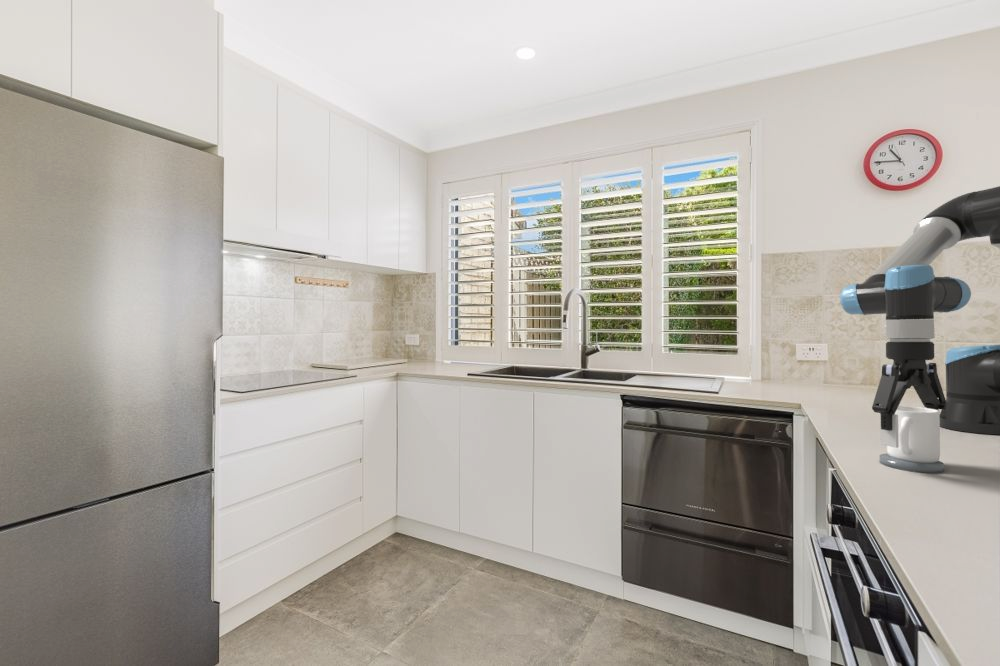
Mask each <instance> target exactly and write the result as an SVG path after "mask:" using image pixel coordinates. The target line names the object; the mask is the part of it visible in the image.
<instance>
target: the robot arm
mask: <svg viewBox="0 0 1000 666" xmlns="http://www.w3.org/2000/svg"><path fill="white" fill-rule="evenodd" d="M984 237H989V241H990V245H991V246H994V247H996V248H998V249H999V250H1000V185H999V186H995V187H990V188H986V189H982V190H978V191H973V192H972V191H971V192H968V193H964V194H961V195H959V196H956V197H954V198H952V199H950V200H948V201H946V202H945V203H943V204H942V205H940V206H938V207H937V208H935V209H933V210H932V211H931V212H929V213H928V214H926V216H925V217H923V218H922V219H921V220H920V221H919V222H918V223H917V224H916V225H915V226H914V228H913V234H912V235H910V236H909V238H908V239H907V240H905V242H904V243H902V245H900V247H898V248H897V250H895V251H894V252H893V253H892V254H891V255H890V256H889V257H888V258H887V259H886V260H885V261H883V263H882V264H881V265H880V266H879V267H878V268H877V269H876V270H875V271H874V272H873V273H872V274H871V275H870V276H869V277H868V278H867V279H866V280H864V282H863V283H855V284H849V285H847V286H845V287H844V288H843V289H842V291H841V293H840V299H839V301H840V304H841V306H842V309H843V311H844V312H845V313H847V314H849V315H863V316H867V315H882V314H883V315H884V314H885V325H884V329H885V338H887V339H888V340H889V341H886V343H885V358H887V359H889V360H893V361H892V362H893V364H882V367H881V376H880V379H879V383H878V386H877V390H876V394H875V396H874V399H873V402H872V406H871V408H872V411H873V413H877V414H880V445H881V446H886V447H887V446H890V447H895V448H897V447H899V443H898V415H896V414H895V412H896V410H897V408H898V406H900V403H901V402H902V400H903V398H904V396H905V394H906V392H907V390H908V389H911V387H913V389H914V391H915V392H916V394H917V396H918V398H919V399H920V401H921V404H923V408H929V409H934V410H938V411H939V412H940V427H941V428H944V429H948V430H954V431H958V432H959V431H960V432H966V433H974V434H984V435H985V434H986V435H1000V344H989V345H974V346H961V347H953V348H949V350H947V351H946V354H945V355H946V356H945V363H944V365H945V389H946V390H945V391H946V392H945V394H946V397H945V394H944V390H943V388H942V384H941V381H940V378H939V374H938V370H937V369H938V367H937V363H936V362H926V361H931V360H934V359H935V343H934V342H933V341H931V340H932V339H935V315H934V314H935V313H950V312H957V311H958V310H961V309H962V308H964V307H965V306H966V305H967V304H968V303H969V302H970V300H971V297H972V296H971V295H972V291H971V288H970V286H969V285H968V284H967V282H965V281H964V280H962V279H959V278H955V277H951V276H935V273H934V272H935V271H934V268H933V267H932V266H931V264H932V263H933V262H934V261H935V260H936V259H937V258H938V256H940V254H941V253H942V252H944V251H945V250H947V249H950V248H952V247H954V246H955V245H957V243H958V242H961V241H966V240H969V239H975V238H984Z"/></svg>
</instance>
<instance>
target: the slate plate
mask: <svg viewBox="0 0 1000 666" xmlns="http://www.w3.org/2000/svg"><path fill="white" fill-rule="evenodd" d="M879 464H881V465H883V466H886V467H889V468H893V469H897V470H901V471H906V470H907V471H908V472H913V471H916V472H915V473H922V472H928V473H927V474H936V473H938V472H939V473H943V472H944V471H945V464H944V462H943V461H940V460H939V461H937V462H935V463H917V462H910V461H904V460H899V459H896V458H893V457H891V456H890V455H889V454H888V452H886V453H881V454H879ZM907 471H906V472H907ZM932 472H933V473H932Z"/></svg>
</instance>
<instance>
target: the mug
mask: <svg viewBox="0 0 1000 666" xmlns="http://www.w3.org/2000/svg"><path fill="white" fill-rule="evenodd" d="M938 410H939V409H938ZM938 410H934V409H929V408H926V407H920V406H908V405H899V406H898V408H897V410H896V412H895V414H896V415H898V443H899V447H897V448H895V447H890V446H886V451H887V452H886V453H888V454H889V455H890V456H891V457H893V458H896V459H899V460H904V461H910V462H917V463H935V462H937V461H940V458H941V457H940V456H941V434H940V433H941V428H940V412H941V411H940V410H939V411H938Z"/></svg>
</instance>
